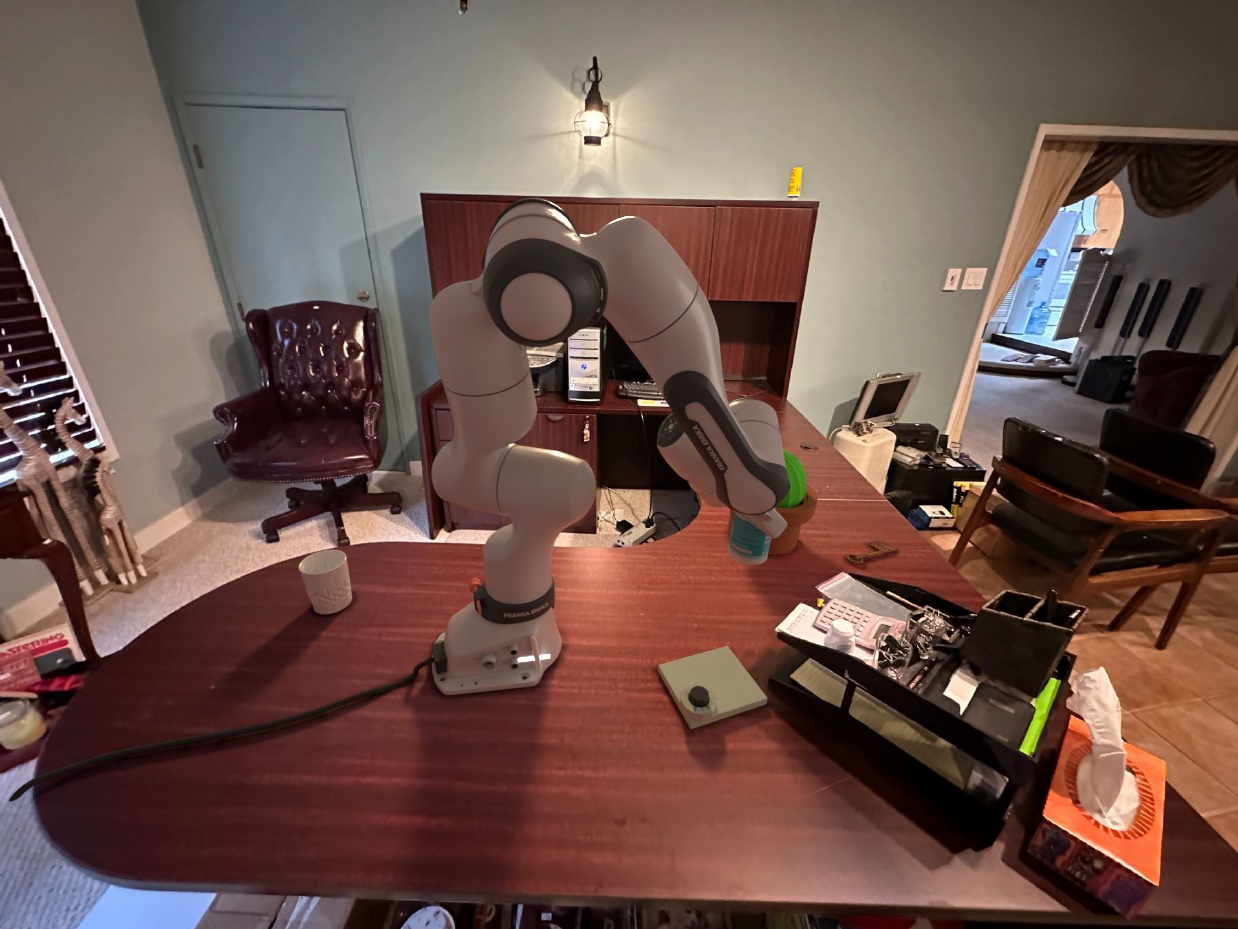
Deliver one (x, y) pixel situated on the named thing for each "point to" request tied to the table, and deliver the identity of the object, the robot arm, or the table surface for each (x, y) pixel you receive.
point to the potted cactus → (791, 507)
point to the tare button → (699, 696)
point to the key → (879, 546)
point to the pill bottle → (748, 542)
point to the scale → (711, 685)
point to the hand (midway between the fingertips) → (756, 519)
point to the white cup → (327, 580)
